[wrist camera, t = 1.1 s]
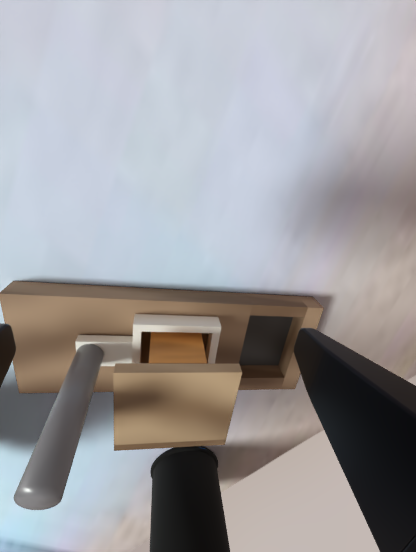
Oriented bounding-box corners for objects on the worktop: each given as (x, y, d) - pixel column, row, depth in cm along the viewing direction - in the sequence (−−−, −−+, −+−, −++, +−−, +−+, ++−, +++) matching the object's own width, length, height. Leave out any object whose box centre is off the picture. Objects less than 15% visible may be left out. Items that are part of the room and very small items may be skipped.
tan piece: (286, 374, 29) (323, 443, 22) (29, 375, 25) (-22, 462, 18) (312, 296, 25) (366, 351, 18) (13, 281, 21) (-62, 346, 14)
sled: (207, 377, 25) (232, 515, 16) (81, 378, 23) (24, 537, 14) (218, 316, 22) (256, 439, 13) (76, 311, 20) (1, 452, 11)
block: (194, 365, 24) (200, 403, 21) (149, 365, 23) (146, 405, 20) (200, 328, 23) (207, 363, 19) (151, 327, 22) (148, 362, 18)
